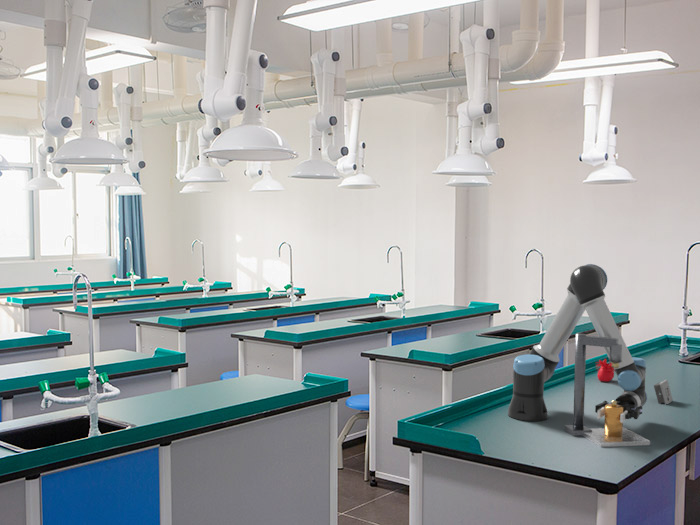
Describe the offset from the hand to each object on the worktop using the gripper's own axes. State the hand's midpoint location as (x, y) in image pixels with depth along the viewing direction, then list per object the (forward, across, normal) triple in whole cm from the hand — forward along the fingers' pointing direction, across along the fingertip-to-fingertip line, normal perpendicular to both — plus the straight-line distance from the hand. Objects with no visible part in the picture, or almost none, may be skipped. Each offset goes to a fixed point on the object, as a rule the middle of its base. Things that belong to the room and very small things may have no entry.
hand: (609, 416), depth 239 cm
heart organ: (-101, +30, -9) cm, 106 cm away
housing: (-5, 0, -7) cm, 9 cm away
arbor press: (-5, +2, -9) cm, 11 cm away
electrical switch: (-74, -2, -9) cm, 74 cm away
